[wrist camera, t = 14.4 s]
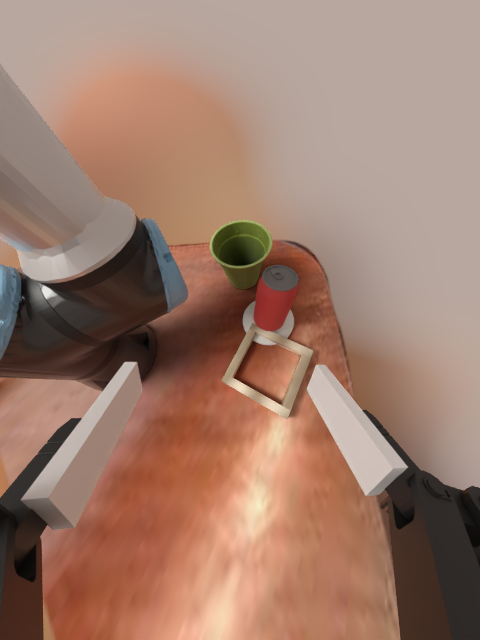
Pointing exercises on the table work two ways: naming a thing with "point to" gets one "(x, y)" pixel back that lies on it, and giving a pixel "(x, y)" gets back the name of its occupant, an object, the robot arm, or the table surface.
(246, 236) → the plant pot
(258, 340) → the white plate
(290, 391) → the frame
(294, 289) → the beer can
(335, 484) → the table surface
